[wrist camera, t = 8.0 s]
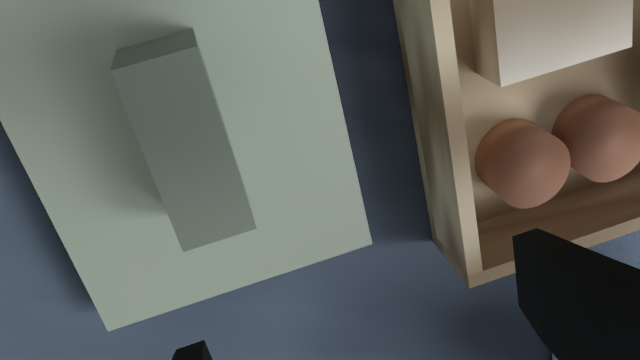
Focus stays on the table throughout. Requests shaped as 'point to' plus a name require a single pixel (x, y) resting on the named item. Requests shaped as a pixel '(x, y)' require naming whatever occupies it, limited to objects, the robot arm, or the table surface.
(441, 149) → the crate
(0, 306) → the table surface
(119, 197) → the lid
